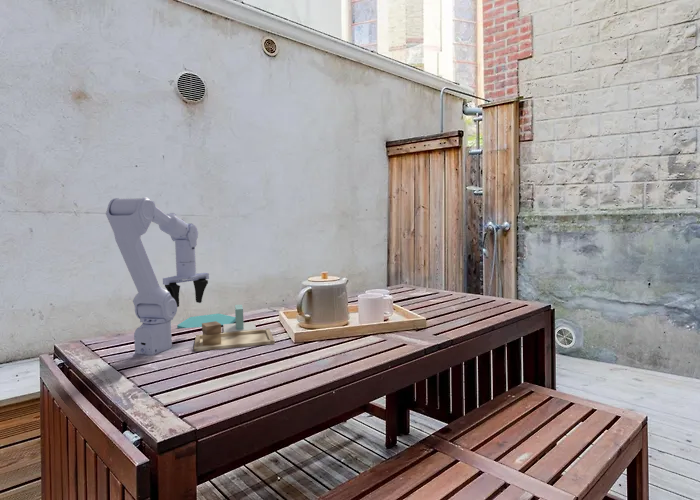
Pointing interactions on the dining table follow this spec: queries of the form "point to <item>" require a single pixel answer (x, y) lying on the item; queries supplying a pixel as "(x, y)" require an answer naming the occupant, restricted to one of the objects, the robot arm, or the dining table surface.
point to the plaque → (206, 320)
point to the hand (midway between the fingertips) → (187, 304)
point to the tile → (246, 326)
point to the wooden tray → (237, 340)
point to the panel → (239, 317)
